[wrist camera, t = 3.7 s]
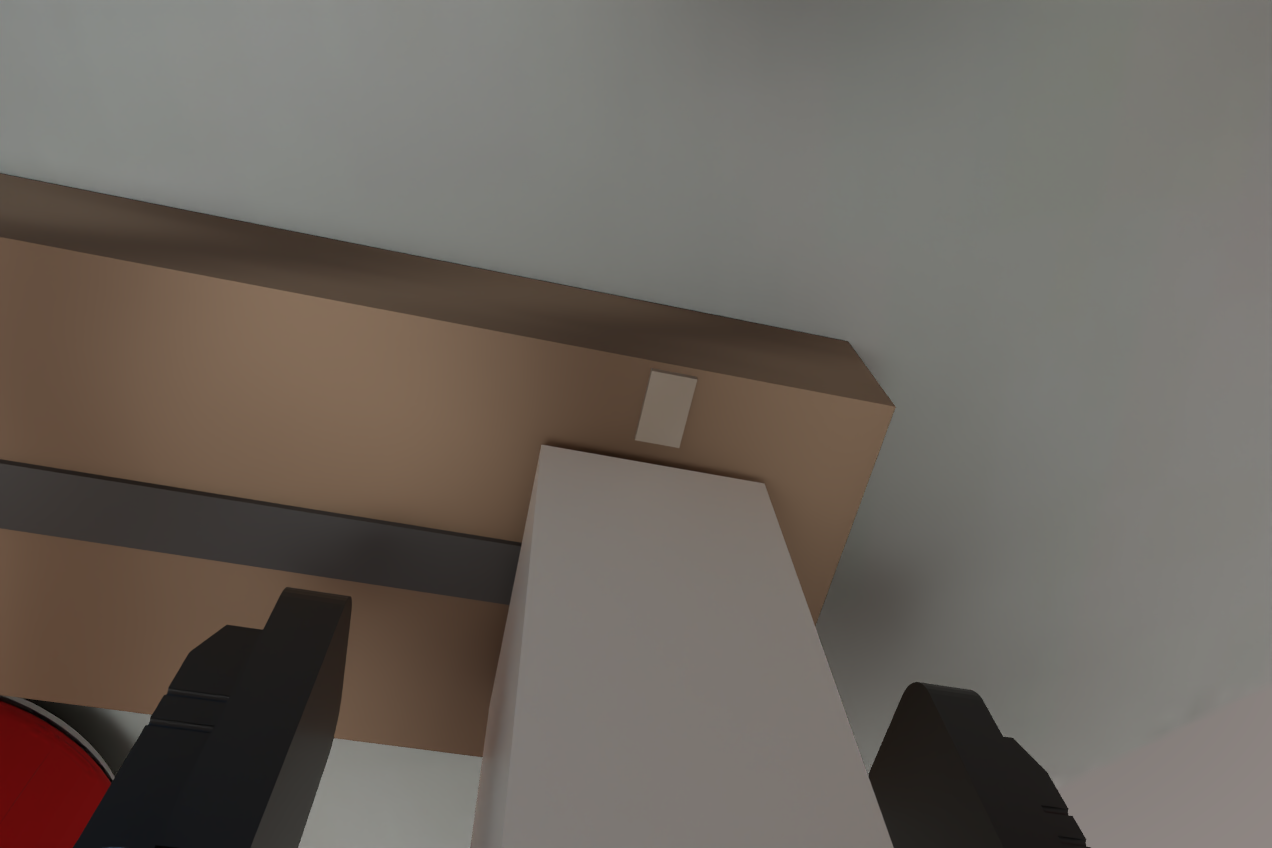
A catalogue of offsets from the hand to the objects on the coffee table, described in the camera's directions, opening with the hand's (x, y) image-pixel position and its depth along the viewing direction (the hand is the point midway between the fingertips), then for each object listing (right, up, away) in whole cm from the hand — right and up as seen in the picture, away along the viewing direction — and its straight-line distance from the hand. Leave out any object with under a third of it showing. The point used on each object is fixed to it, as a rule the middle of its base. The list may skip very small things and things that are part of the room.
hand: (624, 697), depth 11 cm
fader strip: (-7, +3, +3) cm, 8 cm away
